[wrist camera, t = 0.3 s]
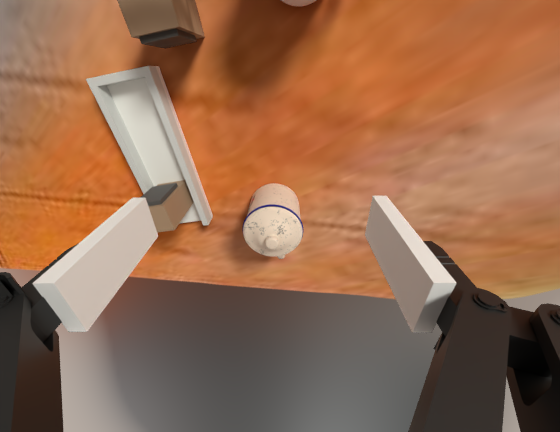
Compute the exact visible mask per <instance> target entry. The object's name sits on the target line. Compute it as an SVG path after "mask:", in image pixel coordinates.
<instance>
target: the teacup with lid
mask: <svg viewBox="0 0 560 432" xmlns="http://www.w3.org/2000/svg"><path fill="white" fill-rule="evenodd" d="M243 236H244V239H245V241H246V243H247V244H248V245H249V246H250V247H251V248H252V249H253V250H254V251H256V252H257V253H259V254H262V255H265V256H277V257H278V258H279V259H283V258H284V257H285V254H287V253H289V252H291V251H292V250H294V249H295V248H296V247H297V246H298V245H299V243H300V241H301V239H302V236H303V225H302V222H301V219H300V210H299V202H298V198H297V196H296V194H295V193H294V192H293V191H292V190H291V189H290V188H288V187H287V186H284V185H282V184H275V183H274V184H267V185H264V186H262V187H260V188H259V189H258V190H256V192H255V193H254V194H253V196H252V198H251V202H250V206H249V210H248V214H247V217H246V218H245V220H244V223H243Z"/></svg>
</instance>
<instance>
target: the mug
mask: <svg viewBox="0 0 560 432" xmlns="http://www.w3.org/2000/svg"><path fill="white" fill-rule="evenodd" d="M281 1H282V2H284V3H286V4H288V5H291V6H306V5H309V4H311V3H313V2H315V1H317V0H281Z"/></svg>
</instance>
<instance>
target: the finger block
mask: <svg viewBox="0 0 560 432" xmlns="http://www.w3.org/2000/svg"><path fill="white" fill-rule="evenodd" d="M117 1H118V3H119V6H120V8H121V11H122V14H123V16H124V19H125V21H126V24H127V26H128V29H129V32H130V34H131V37H133V38H138V39H140V41H141V44H145V45H151V46H156V47H161V48H170V47H174V46H179V45H183V44H188V43H193V42H197V40H196V39H198V38H203V37H205V36H204V32H203V28H202V25H201V21H200V17H199V13H198V10H197V6H196V2H195V0H117Z"/></svg>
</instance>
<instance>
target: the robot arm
mask: <svg viewBox="0 0 560 432" xmlns="http://www.w3.org/2000/svg"><path fill="white" fill-rule="evenodd" d="M365 236H366V239H367V241H368V243H369V245H370V247H371V249H372V251H373V253H374V255H375V257H376V259H377V261H378V263H379V265H380V267H381V269H382V271H383V273H384V275H385V278H386V280H387V282H388V284H389V286H390V288H391V290H392V292H393V294H394V296H395V298H396V300H397V302H398V304H399V306H400V308H401V310H402V312H403V314H404V316H405V319H406V321H407V323H408V325H409V327H410V328H411V330H412V333H432V331H433V329H434V327H435V325H436V323H437V324H438V325H439V327H440V329H441V331H442V334H441V336H440V338H439V340H438V342H437V343H436V345H435V347H434V349H435V353H434V356H433V359H432V362H431V365H430V368H429V371H428V374H427V377H426V380H425V383H424V386H423V389H422V392H421V395H420V398H419V401H418V404H417V407H416V410H415V413H414V416H413V419H412V422H411V425H410V428H409V431H408V432H502V424H503V411H504V399H505V385H506V376H507V380H508V384H509V388H510V392H511V396H512V399H513V403H514V407H515V411H516V415H517V419H518V423H519V427H520V431H521V432H560V306H558V305H553V304H541V305H540V306H539V307H538V308H537V309H536V311H535V312H530V311H526V310H521V309H517V308H513V307H509V306H508V305H507V304H506V302H505V301H503V300H502V299H501V298H500V297H498V296H497V295H495V294H493V293H491V292H489V291H487V290H483V289H480V288H477V287H476V286H475V285H474V284H473V283H472V282H471V280H470V279H469V278H468V277H467V276H466V275H465V274H464V273H463V271H462V270H461V269H460V268H459V267H458V266H457V265H456V264H455V262H454V261H453V260H452V259H451V258H449V256H448V254H447V253H446V252H445V251H444V250H443V249H442V248H441V247H439V246H438V245H436V244H435V243H433V242H432V241H422V239H421V238H420V237H419V236H418V234H417V233H416V232H415V231H414V229H413V228H412V227H411V226H410V225H409V223H408V222H407V221H406V220H405V218H404V217H403V216H402V215H401V213H400V212H399V211H398V210H397V208H396V207H395V206H394V205H393V203H392V202H391V201H390V200H389V199H388V197H387V196H373V197H372V202H371V207H370V212H369V217H368V222H367V227H366V232H365ZM157 237H158V234H157V231H156V228H155V225H154V222H153V219H152V216H151V213H150V210H149V207H148V204H147V201H146V198H132V199H130V200H129V201H128V202H127V203H126V204H125V205H123V206H122V207H121V208H120V209H119V210H118V211H116V212H115V213H114V214H113V215H112V216H111V217H109V218H108V219H107V220H106V221H105V222H104V223H102V224H101V225H100V226H99V227H98V228H96V229H95V230H94V231H93V232H92V233H91V234H89V235H88V236H87V237H86V238H85V239H84V240H82V241H81V242H80V243H78V244H77V245H75V246H73V247H71V248H69V249H68V250H66V251H65V252H64V253H62V254H61V255H60V256H59V257H58V258H57V260H54V261H53V262H52V263H50V264H49V266H47V267H46V268H44V269H43V270H42V271H41V272H40V273H38V274H37V275H36V276H35V277H34V278H33V279H31V280H30V281H29V282H28V283H27V284H25V285H24V286H23V287H22V288H21V287H20V286H19V284H18V283H17V282H16V280H15V279H14V278H13V277H12V275H11V274H10V273H6V272H1V273H0V432H63V417H62V416H63V415H62V394H61V375H60V353H59V336H58V334H57V332H56V331H55V329H56V328H57V327H58V325H60V323H61V322H62V324H63V325H64V326H65V328H66V329H67V330H68V332H87V331H88V330H89V328H90V327H91V326H92V324H93V323H94V322H95V320H96V319H97V318H98V316H99V315H100V313H101V312H102V311H103V310H104V308H105V307H106V306H107V304H108V303H109V302H110V300H111V299H112V298H113V296H114V295H115V294H116V292H117V291H118V289H119V288H120V287H121V286H122V284H123V283H124V282H125V280H126V279H127V278H128V276H129V275H130V274H131V272H132V271H133V270H134V268H135V267H136V265H137V264H138V263H139V261H140V260H141V259H142V257H143V256H144V255H145V253H146V252H147V251H148V249H149V248H150V247H151V245H152V244H153V243H154V241H155V240H156V239H157Z"/></svg>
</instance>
